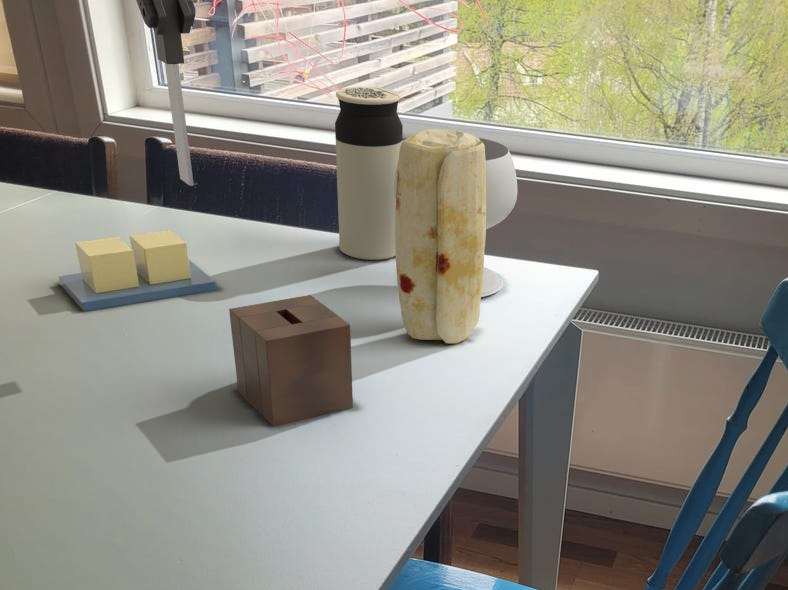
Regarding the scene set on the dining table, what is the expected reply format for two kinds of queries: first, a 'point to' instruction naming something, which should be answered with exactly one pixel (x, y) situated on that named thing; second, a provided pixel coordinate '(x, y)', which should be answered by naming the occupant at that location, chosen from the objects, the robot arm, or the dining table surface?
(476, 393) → the dining table surface
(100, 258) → the butter
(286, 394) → the knife block
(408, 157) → the food model
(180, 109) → the knife
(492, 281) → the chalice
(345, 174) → the travel mug
